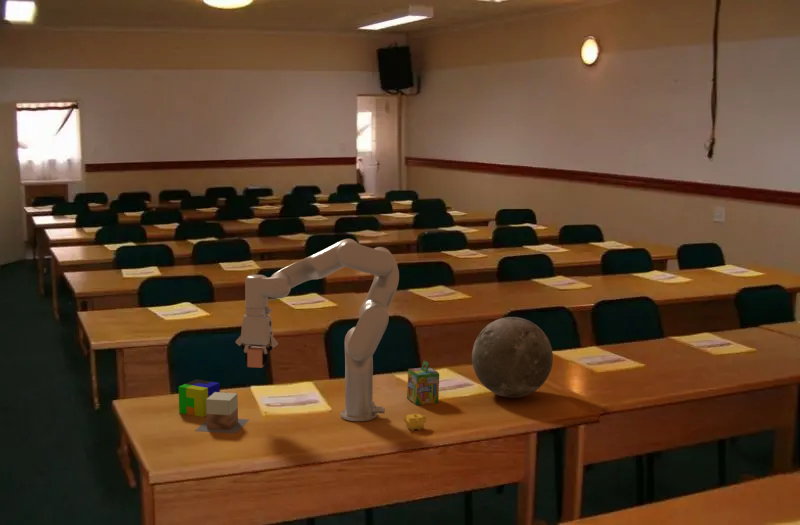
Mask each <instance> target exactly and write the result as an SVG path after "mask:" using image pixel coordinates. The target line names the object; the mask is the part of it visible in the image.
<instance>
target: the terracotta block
mask: <svg viewBox="0 0 800 525" xmlns="http://www.w3.org/2000/svg"><path fill="white" fill-rule="evenodd" d="M263 354H264V351H263V348H262V346H259V345H251V347H250V348H249V349H248V350H247V364H246V366H247V368H256V369H257V368H261V369H262V368H263V367H264V365H263Z"/></svg>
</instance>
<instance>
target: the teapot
mask: <svg viewBox="0 0 800 525" xmlns="http://www.w3.org/2000/svg"><path fill="white" fill-rule="evenodd" d="M402 419H403V421H404V423H405V425H406V427H407V428H408V429H409V430H410V431H411V432H413V431H415V430H418V431H421V430H422V429H424V426H425V423H427V416H426V415H421V413H411V414H407V415H406V418H405V417H404V418H402Z"/></svg>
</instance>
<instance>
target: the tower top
mask: <svg viewBox="0 0 800 525" xmlns="http://www.w3.org/2000/svg"><path fill="white" fill-rule="evenodd" d="M238 398H239V397H238V392H237V393H235V392H221V391H220V392H214V393H213V394H212V395H211V396H210V397H208V398H207V399H206V408H207V414H218V415H231V414H232V413H233V412H234V411H235V410H236V409H237V408H238V407H239V406H238V405H239V402H238ZM238 409H239V408H238Z"/></svg>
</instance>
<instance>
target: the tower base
mask: <svg viewBox="0 0 800 525" xmlns="http://www.w3.org/2000/svg"><path fill="white" fill-rule="evenodd" d="M238 419H239V408H237V409H236V410H235V411H234V412H233V413H232V414H231V415H218V414H207V415H206V420H207V428H210V429H226V430H230V429H231V428H232V427H233V426H234V425H235V424H236V423H237V422H238Z"/></svg>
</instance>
